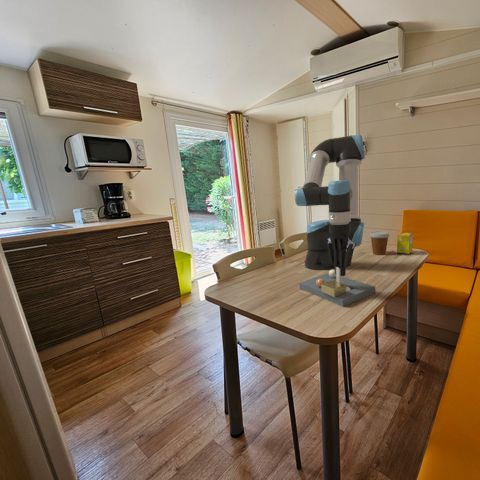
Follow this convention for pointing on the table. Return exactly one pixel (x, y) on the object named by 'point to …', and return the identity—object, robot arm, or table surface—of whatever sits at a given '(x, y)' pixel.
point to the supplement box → (404, 243)
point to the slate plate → (356, 293)
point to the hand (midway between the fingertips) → (340, 282)
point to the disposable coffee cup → (379, 242)
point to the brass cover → (333, 288)
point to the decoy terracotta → (320, 282)
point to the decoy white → (332, 273)
